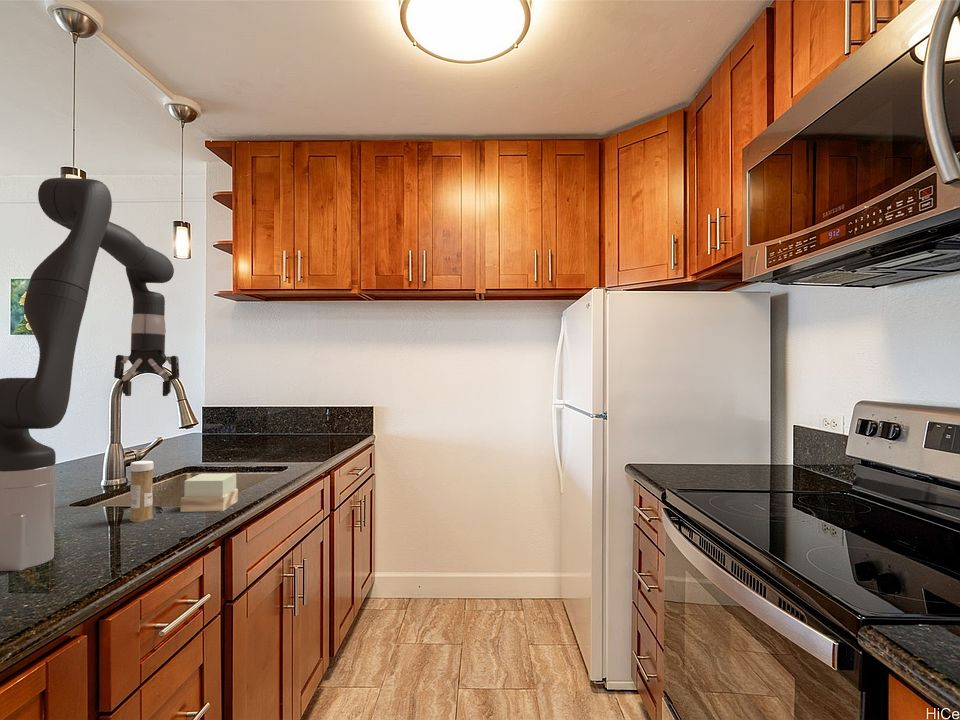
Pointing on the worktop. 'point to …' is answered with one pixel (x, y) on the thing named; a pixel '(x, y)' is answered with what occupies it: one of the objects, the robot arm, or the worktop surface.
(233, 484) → the tower top
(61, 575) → the worktop surface
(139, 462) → the sprinkles bottle
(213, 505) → the tower base
